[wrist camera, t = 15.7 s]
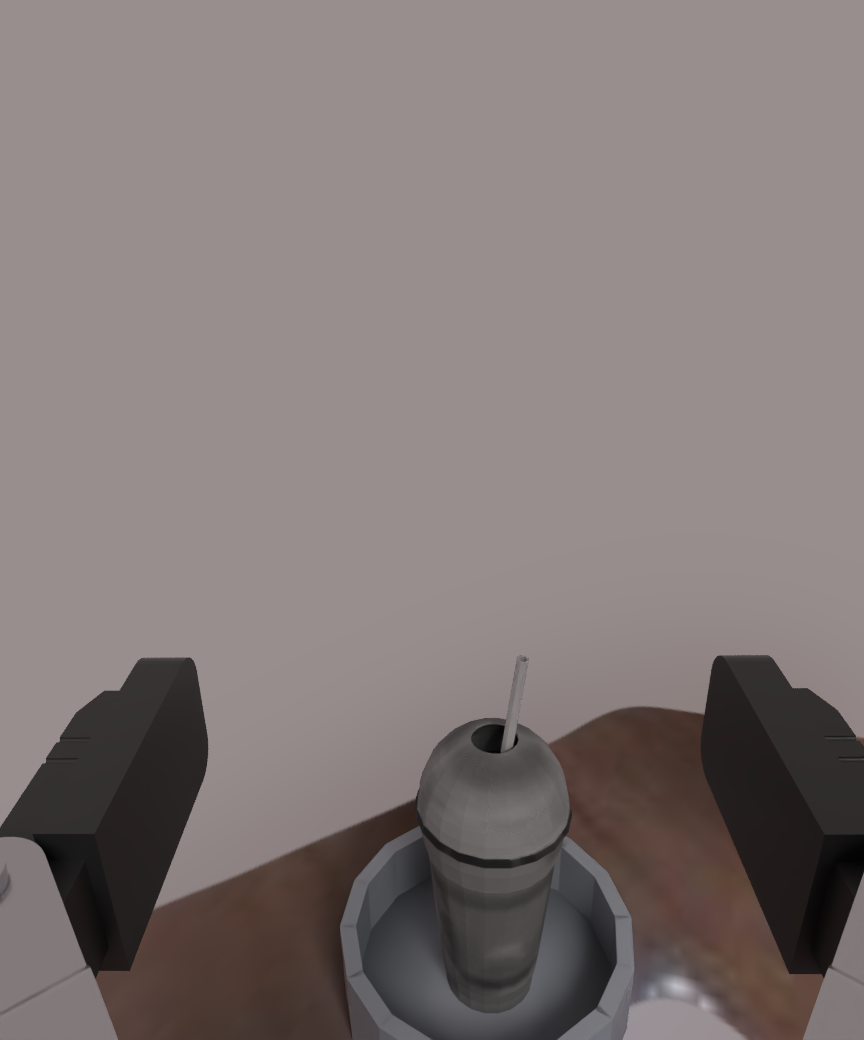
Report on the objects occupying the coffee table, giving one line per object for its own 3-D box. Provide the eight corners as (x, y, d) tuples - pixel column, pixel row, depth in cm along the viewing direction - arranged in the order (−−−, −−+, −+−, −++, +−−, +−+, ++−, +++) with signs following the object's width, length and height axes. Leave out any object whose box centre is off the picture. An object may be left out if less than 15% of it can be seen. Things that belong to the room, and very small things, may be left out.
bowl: (662, 940, 44) (671, 882, 43) (553, 1207, 33) (559, 1143, 31) (440, 835, 52) (439, 781, 50) (289, 1024, 40) (281, 964, 39)
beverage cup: (457, 893, 46) (457, 593, 38) (578, 944, 43) (606, 630, 35) (394, 1000, 40) (377, 674, 32) (528, 1068, 37) (547, 726, 29)
